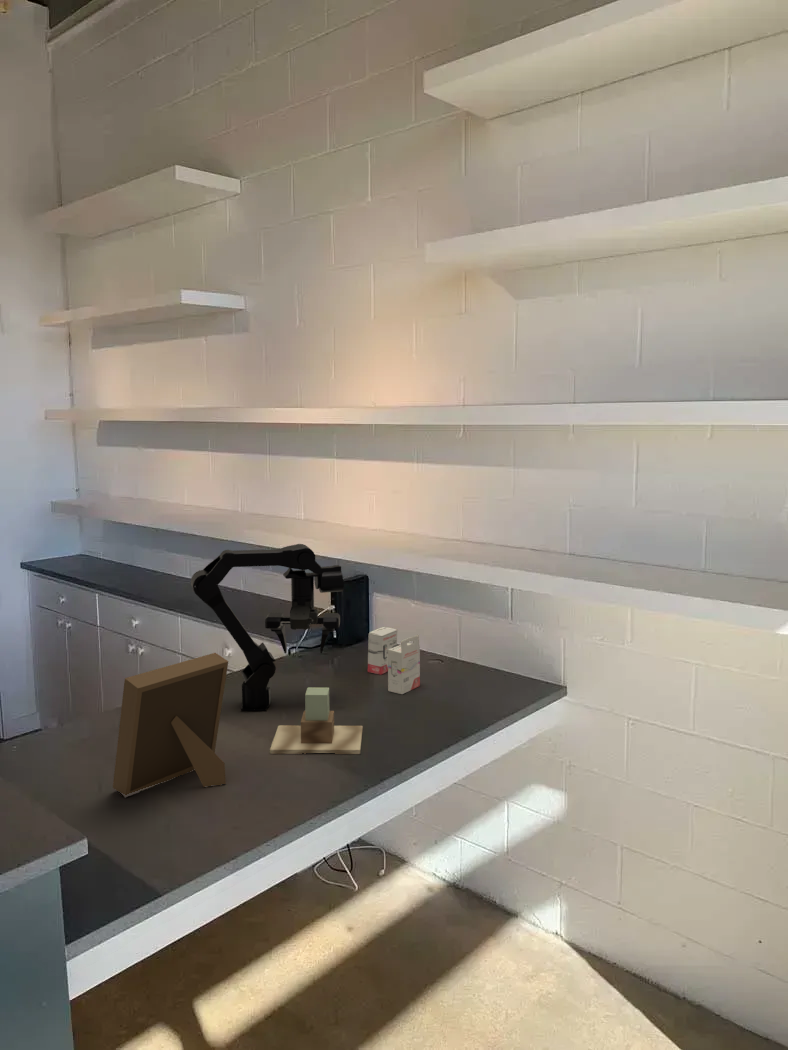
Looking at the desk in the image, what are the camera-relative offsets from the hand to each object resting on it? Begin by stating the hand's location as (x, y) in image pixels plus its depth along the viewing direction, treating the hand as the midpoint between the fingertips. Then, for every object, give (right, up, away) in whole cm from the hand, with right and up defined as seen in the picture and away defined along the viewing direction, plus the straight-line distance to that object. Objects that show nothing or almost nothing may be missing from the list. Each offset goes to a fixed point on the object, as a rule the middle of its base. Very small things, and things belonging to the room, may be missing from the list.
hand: (303, 653), depth 219 cm
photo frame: (-20, -20, -45) cm, 54 cm away
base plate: (+6, -17, -24) cm, 30 cm away
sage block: (+6, -11, -25) cm, 28 cm away
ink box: (+20, -9, +28) cm, 35 cm away
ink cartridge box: (+26, -12, +12) cm, 31 cm away
